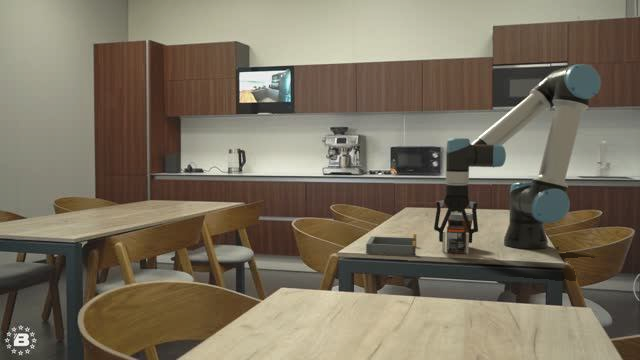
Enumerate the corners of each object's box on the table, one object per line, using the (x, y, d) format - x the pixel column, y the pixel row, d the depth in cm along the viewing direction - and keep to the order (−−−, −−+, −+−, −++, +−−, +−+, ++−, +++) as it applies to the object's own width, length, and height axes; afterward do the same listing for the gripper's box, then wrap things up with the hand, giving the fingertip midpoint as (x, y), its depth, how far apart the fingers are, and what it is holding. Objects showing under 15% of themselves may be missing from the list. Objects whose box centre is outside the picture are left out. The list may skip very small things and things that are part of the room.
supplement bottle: (453, 250, 202) (454, 218, 201) (468, 253, 198) (468, 219, 197) (442, 252, 198) (443, 219, 197) (457, 255, 194) (458, 221, 193)
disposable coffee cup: (440, 245, 212) (441, 212, 212) (461, 243, 217) (462, 211, 216) (457, 249, 204) (457, 215, 203) (478, 248, 208) (479, 214, 207)
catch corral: (416, 246, 210) (416, 234, 210) (415, 255, 192) (415, 241, 192) (370, 244, 213) (371, 232, 212) (366, 252, 195) (366, 239, 195)
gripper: (486, 184, 198) (484, 251, 200) (426, 182, 202) (425, 248, 203) (489, 185, 191) (486, 255, 192) (426, 184, 195) (425, 252, 196)
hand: (455, 251), depth 198 cm, fingers open, 7 cm apart
